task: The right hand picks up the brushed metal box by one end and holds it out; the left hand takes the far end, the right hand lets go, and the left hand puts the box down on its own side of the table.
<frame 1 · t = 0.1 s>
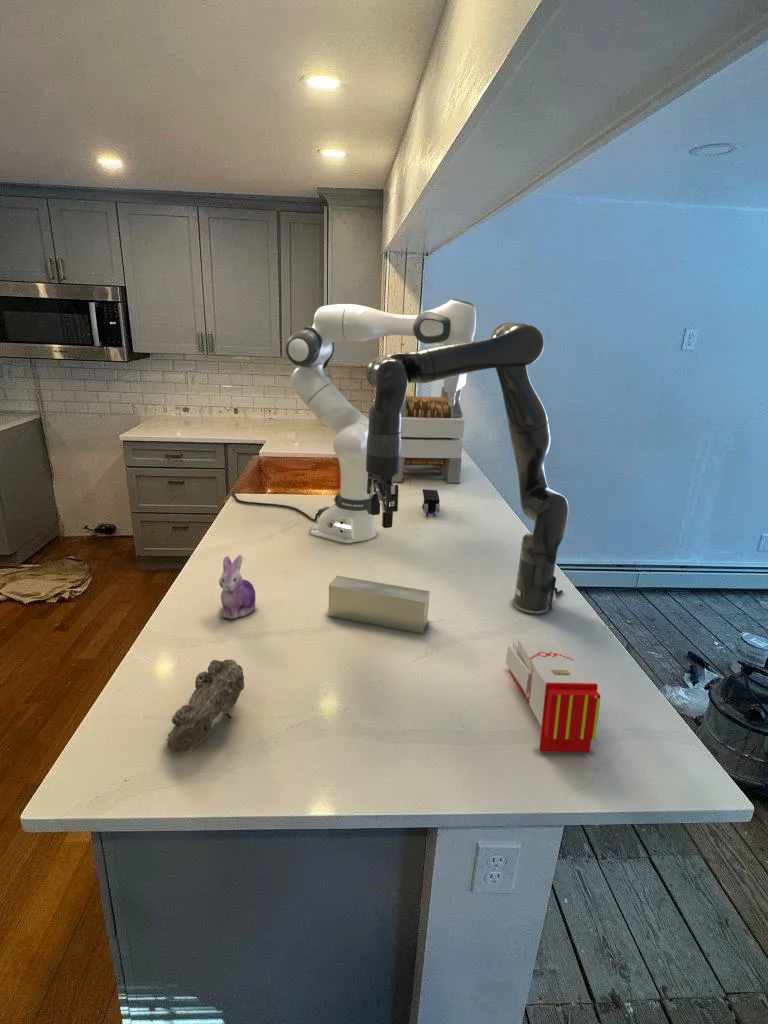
left hand: (453, 403, 174), 48 cm above the counter, tool pointing down, fingers open, 8 cm apart
right hand: (380, 520, 130), 29 cm above the counter, tool pointing down, fingers open, 8 cm apart
toy: (542, 703, 116), on the counter
figurine: (238, 611, 145), on the counter
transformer: (419, 473, 275), on the counter
box: (377, 618, 145), on the counter
figurine character: (429, 512, 222), on the counter
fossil: (212, 717, 108), on the counter
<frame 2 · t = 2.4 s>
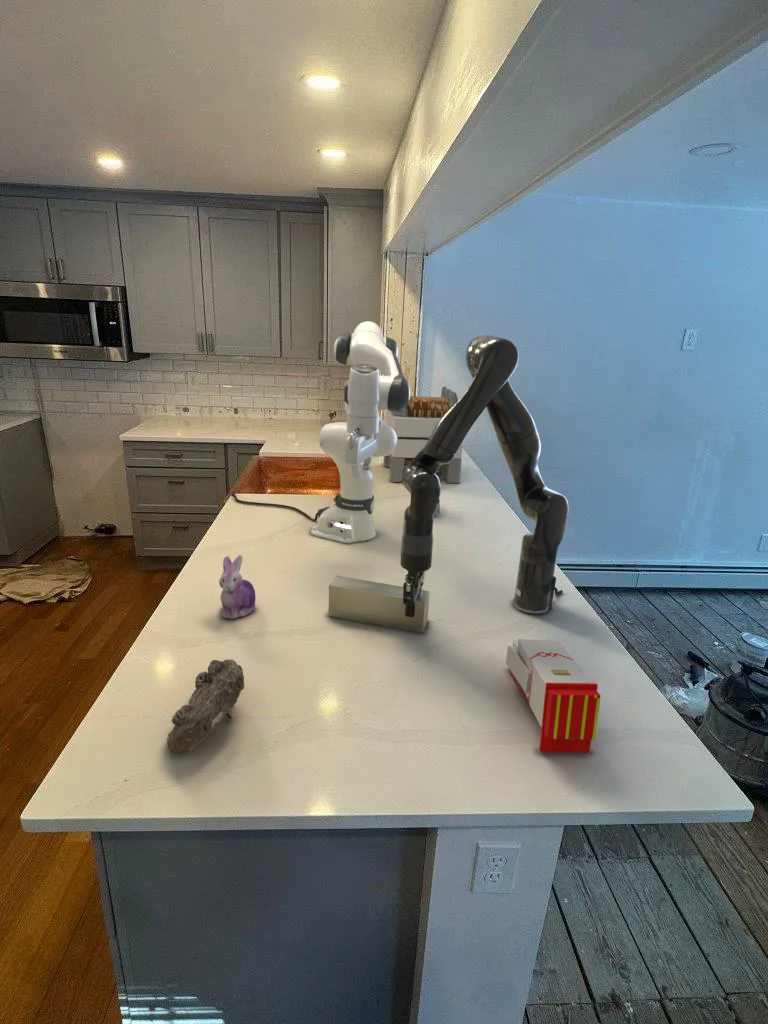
left hand: (361, 474, 161), 30 cm above the counter, tool pointing down, fingers open, 8 cm apart
right hand: (412, 609, 141), 4 cm above the counter, tool pointing down, fingers closed on box, 6 cm apart
box: (377, 618, 145), on the counter, touching right hand
everything else where it was.
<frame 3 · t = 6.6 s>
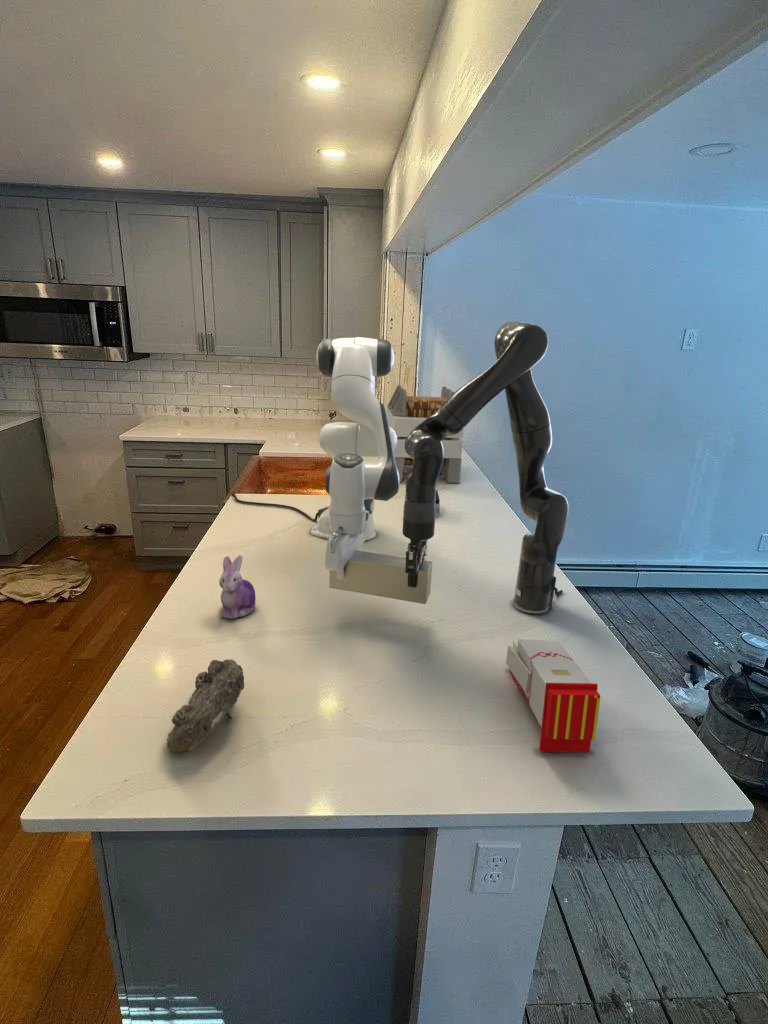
left hand: (345, 572, 143), 12 cm above the counter, tool pointing down, fingers closed on box, 6 cm apart
right hand: (415, 580, 138), 12 cm above the counter, tool pointing down, fingers closed on box, 6 cm apart
box: (379, 590, 142), point 8 cm above the counter, touching left hand, right hand
everything else where it was.
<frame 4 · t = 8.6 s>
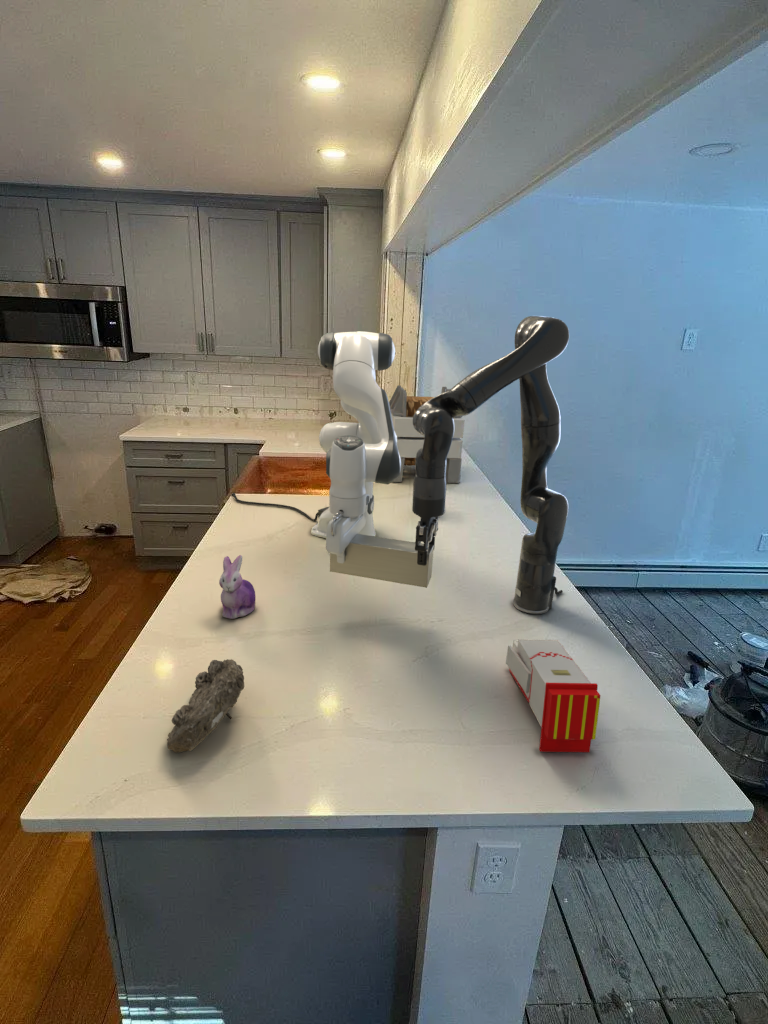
left hand: (346, 556, 142), 16 cm above the counter, tool pointing down, fingers closed on box, 6 cm apart
right hand: (425, 557, 136), 19 cm above the counter, tool pointing down, fingers open, 8 cm apart
box: (380, 574, 141), point 12 cm above the counter, touching left hand
everything else where it was.
when the left hand's fingers open (5 cm above the counter, at t = 13.5 s): box drops 1 cm, on the counter.
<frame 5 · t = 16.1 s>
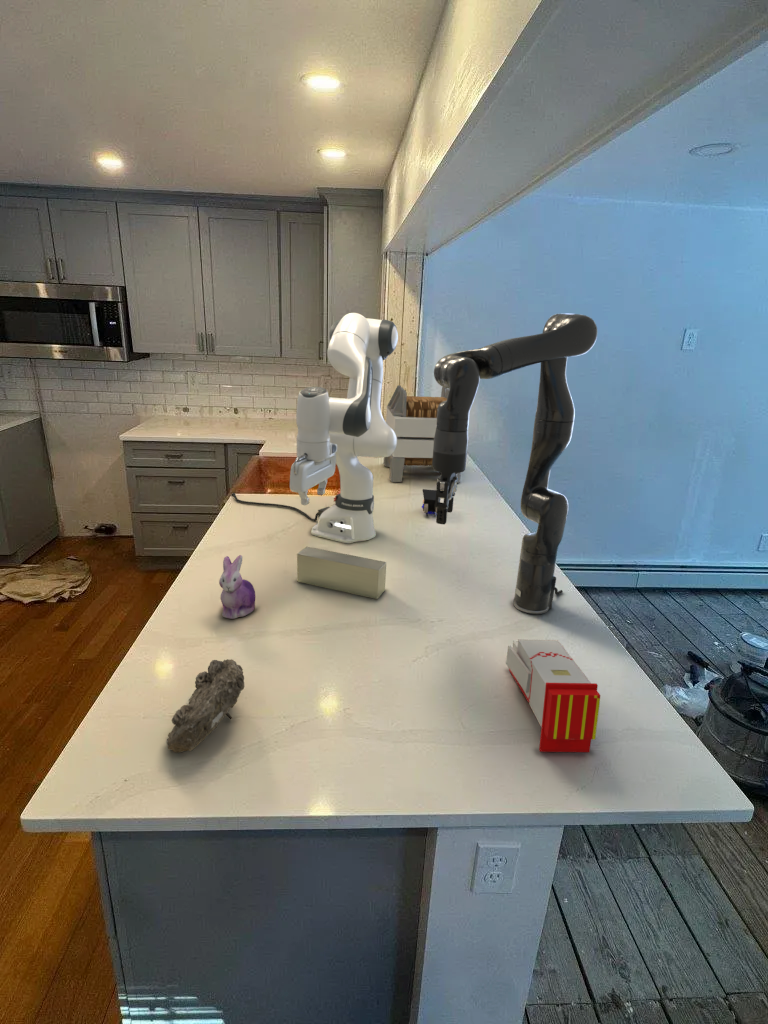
left hand: (313, 499, 155), 25 cm above the counter, tool pointing down, fingers open, 8 cm apart
right hand: (444, 517, 131), 30 cm above the counter, tool pointing down, fingers open, 8 cm apart
box: (340, 585, 161), on the counter
everything else where it was.
at the end: box inside the target area (8.7 cm from its centre), on the counter; the left hand is holding nothing; the right hand is holding nothing; box at rest at the end (0.0 cm/s) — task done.
